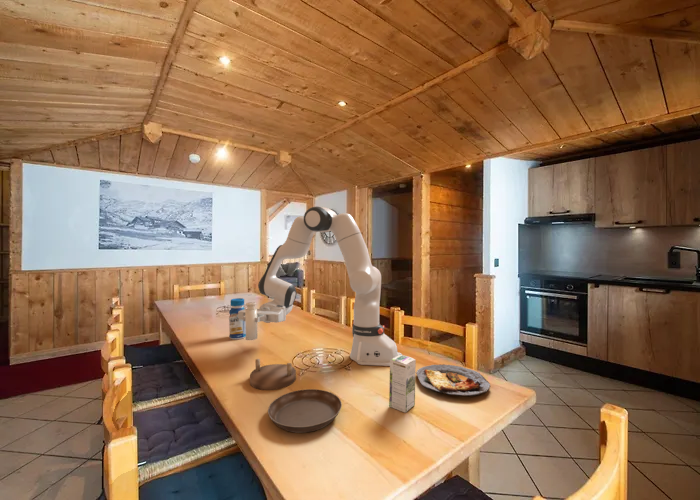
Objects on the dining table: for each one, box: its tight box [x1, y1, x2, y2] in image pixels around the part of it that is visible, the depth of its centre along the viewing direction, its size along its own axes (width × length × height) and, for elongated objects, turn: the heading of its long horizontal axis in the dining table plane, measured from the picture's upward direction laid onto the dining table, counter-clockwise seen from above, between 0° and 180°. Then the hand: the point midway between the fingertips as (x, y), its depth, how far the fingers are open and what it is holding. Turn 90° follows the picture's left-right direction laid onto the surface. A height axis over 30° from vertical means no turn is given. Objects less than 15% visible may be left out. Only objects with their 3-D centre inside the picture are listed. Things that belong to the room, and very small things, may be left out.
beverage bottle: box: [228, 297, 246, 341], centre depth 162 cm, size 8×8×20 cm
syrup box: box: [388, 354, 417, 414], centre depth 94 cm, size 6×6×14 cm
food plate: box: [415, 363, 491, 397], centre depth 109 cm, size 25×23×4 cm
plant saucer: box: [267, 388, 343, 434], centre depth 89 cm, size 21×21×3 cm
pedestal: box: [249, 358, 297, 391], centre depth 112 cm, size 16×16×6 cm
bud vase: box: [245, 301, 258, 341], centre depth 129 cm, size 5×5×15 cm
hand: (249, 319), depth 128 cm, fingers closed on bud vase, 5 cm apart
